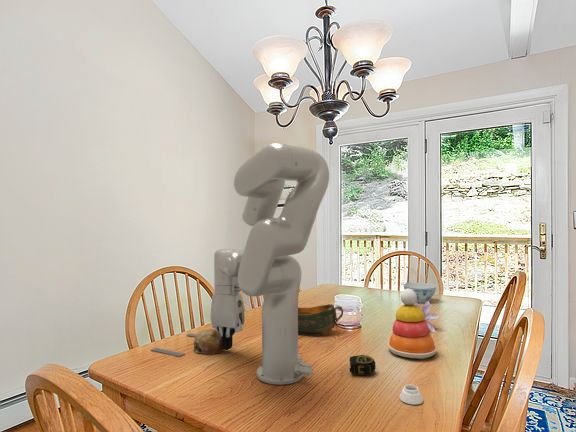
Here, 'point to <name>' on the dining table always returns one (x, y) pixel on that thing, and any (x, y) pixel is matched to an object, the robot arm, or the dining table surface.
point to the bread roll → (208, 342)
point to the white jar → (411, 395)
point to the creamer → (317, 320)
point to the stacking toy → (411, 330)
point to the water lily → (428, 315)
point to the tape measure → (362, 365)
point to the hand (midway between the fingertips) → (227, 348)
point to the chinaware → (421, 290)
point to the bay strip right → (191, 335)
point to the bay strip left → (168, 352)
